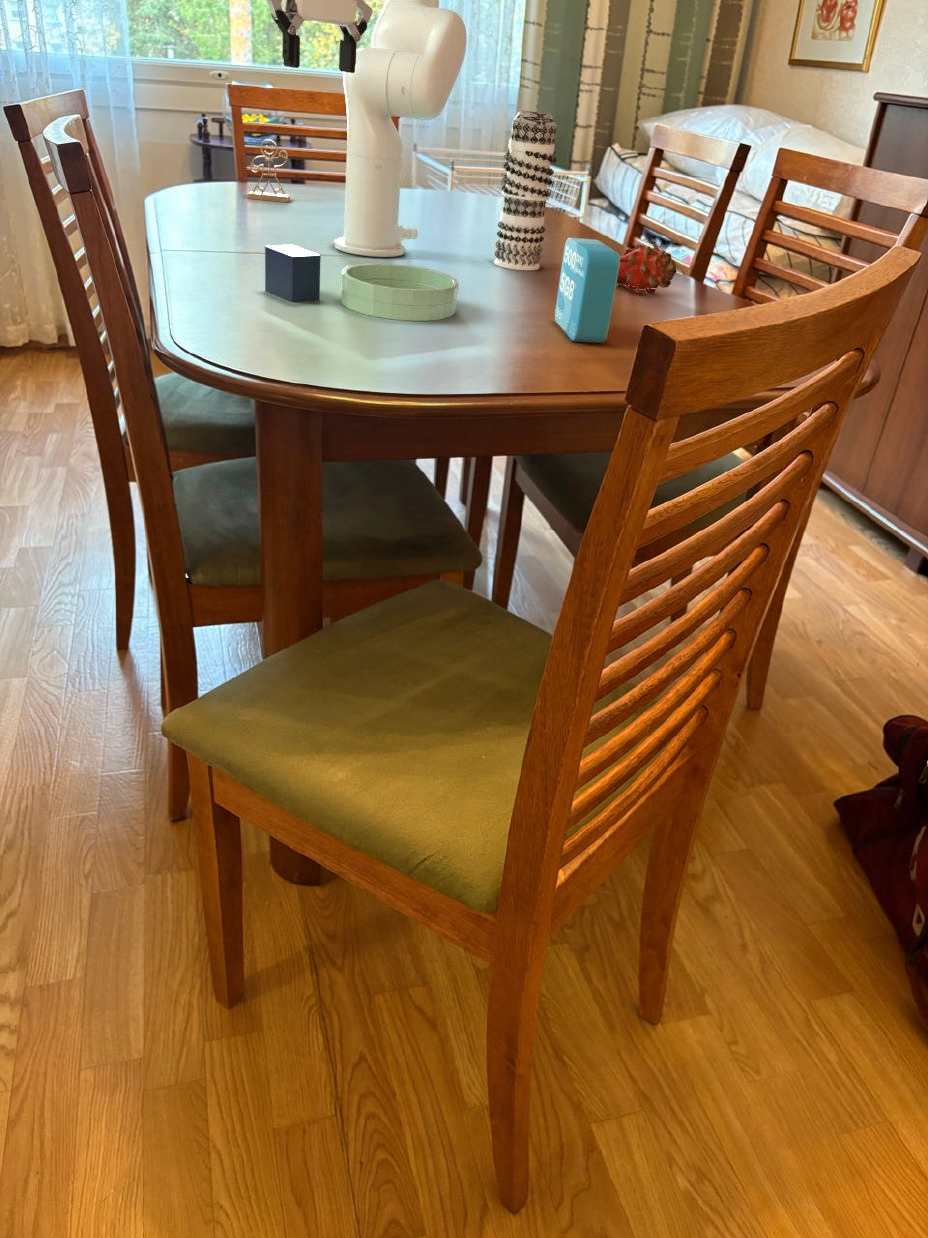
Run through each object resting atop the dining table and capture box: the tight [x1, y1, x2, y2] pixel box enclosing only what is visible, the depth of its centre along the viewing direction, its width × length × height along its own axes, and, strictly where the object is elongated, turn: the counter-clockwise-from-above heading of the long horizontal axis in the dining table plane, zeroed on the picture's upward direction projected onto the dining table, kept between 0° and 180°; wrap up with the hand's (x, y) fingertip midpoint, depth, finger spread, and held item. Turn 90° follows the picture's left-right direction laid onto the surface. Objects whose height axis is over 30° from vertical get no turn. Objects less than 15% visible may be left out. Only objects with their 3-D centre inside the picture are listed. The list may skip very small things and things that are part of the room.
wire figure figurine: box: [247, 138, 291, 203], centre depth 210 cm, size 9×4×12 cm, turn 94°
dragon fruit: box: [616, 243, 678, 295], centre depth 165 cm, size 8×8×12 cm
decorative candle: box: [493, 110, 558, 271], centre depth 170 cm, size 9×9×25 cm
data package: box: [554, 237, 620, 344], centre depth 133 cm, size 12×4×12 cm, turn 10°
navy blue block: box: [264, 244, 322, 303], centre depth 135 cm, size 5×7×6 cm, turn 42°
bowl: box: [340, 263, 459, 322], centre depth 137 cm, size 16×16×4 cm
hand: (319, 69), depth 139 cm, fingers open, 9 cm apart
